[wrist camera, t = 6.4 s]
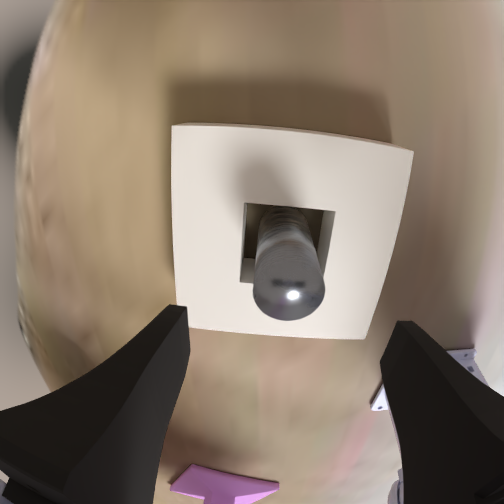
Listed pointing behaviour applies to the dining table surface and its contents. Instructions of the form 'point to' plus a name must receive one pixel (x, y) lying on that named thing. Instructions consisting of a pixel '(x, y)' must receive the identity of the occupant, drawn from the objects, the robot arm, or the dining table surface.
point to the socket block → (283, 194)
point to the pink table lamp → (221, 486)
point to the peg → (286, 266)
